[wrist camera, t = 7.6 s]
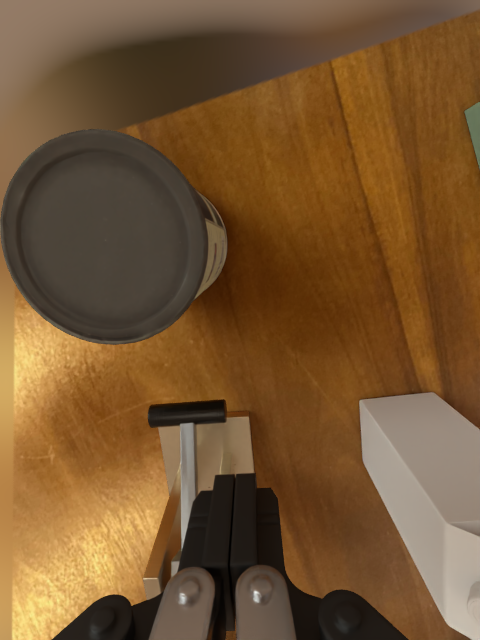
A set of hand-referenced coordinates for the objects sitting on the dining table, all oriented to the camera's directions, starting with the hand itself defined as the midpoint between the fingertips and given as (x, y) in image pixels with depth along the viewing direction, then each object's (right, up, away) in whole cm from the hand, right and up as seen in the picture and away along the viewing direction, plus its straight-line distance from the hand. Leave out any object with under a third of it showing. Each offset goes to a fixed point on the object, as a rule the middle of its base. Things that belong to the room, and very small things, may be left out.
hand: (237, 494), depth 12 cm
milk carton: (+16, -4, +21) cm, 27 cm away
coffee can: (-6, +13, +18) cm, 23 cm away
